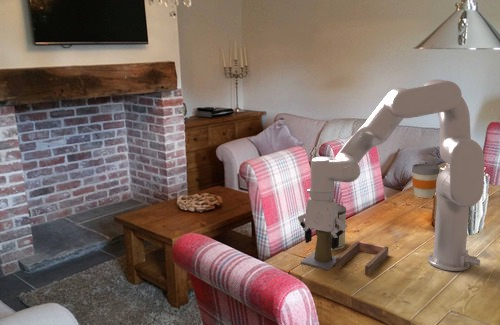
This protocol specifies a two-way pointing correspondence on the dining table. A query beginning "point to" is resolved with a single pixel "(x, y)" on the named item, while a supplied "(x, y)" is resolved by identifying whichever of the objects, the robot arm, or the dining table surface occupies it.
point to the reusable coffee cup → (424, 179)
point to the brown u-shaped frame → (366, 247)
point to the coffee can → (342, 217)
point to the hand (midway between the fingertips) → (321, 244)
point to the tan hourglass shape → (323, 247)
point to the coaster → (322, 265)
